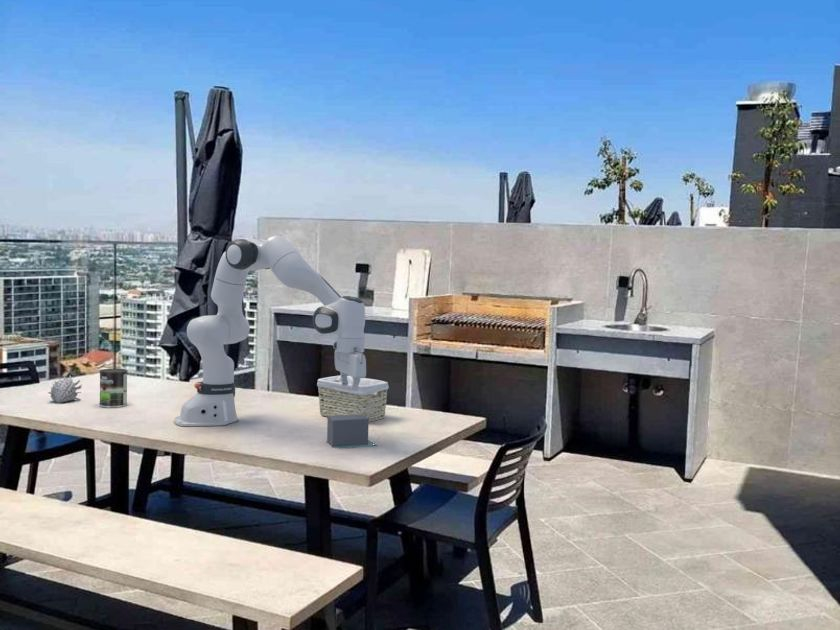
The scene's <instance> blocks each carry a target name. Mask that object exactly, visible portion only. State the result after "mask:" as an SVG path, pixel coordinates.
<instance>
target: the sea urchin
mask: <svg viewBox="0 0 840 630" xmlns="http://www.w3.org/2000/svg"><path fill="white" fill-rule="evenodd" d="M80 382H81V380H80V379H78V380H77V381H76V382H74V380H73V378H72V376H71V375H69V377H68V378H67V377H66V375H64V376H63V379H61V378H60V377H59V379H58V381H56V380H54V381H53V383H52V387H50V391H49V392H47V394H50V398H51V400H52V401H54V402H55V403H58V404H62V403H65V402H69V401H70V402H71V401H75V400H76V401H81V400H82V399H81V398H78V397H77V396H78V394H80V393H82V391H79V392H78V391H77V390H81V389H82V388H83V387H82V385H83V384H80V385H78V384H79V383H80ZM77 385H78V386H77ZM76 391H77V392H76Z"/></svg>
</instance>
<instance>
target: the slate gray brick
mask: <svg viewBox="0 0 840 630" xmlns="http://www.w3.org/2000/svg"><path fill="white" fill-rule="evenodd" d="M326 418H327V419H326V420H327V423H326V424H327V425H326V426H327V428H326V431H327V432H326V433H327V434H326V440H327V442H326V443H327V444H328V445H329V446H330V445H331V446H330V447H331V448H335V447H337V446H353V445H368V440H369V423H370V422H369V418H367V417H366V416H364V415H363V414H361V415H341V416H326Z"/></svg>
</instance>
